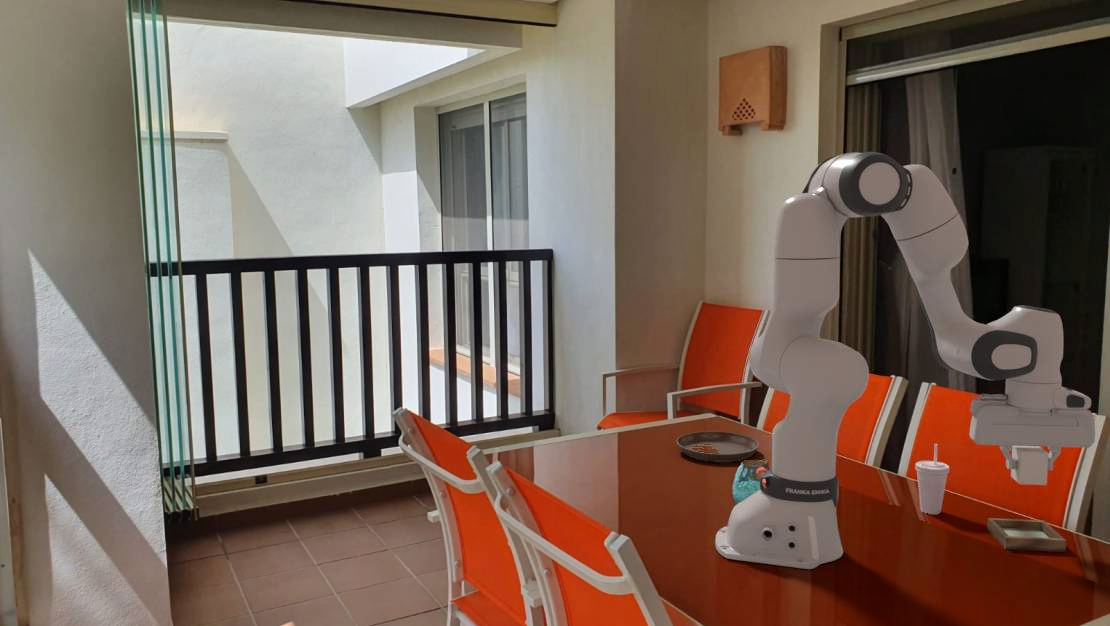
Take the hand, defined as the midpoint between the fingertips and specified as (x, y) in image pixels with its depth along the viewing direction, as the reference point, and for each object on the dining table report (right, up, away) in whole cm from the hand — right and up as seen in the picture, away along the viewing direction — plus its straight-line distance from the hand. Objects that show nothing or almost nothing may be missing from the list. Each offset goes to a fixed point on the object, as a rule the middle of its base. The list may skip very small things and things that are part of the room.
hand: (1029, 469), depth 156 cm
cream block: (0, -2, 0) cm, 2 cm away
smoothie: (-10, -12, +17) cm, 24 cm away
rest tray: (0, -14, +1) cm, 14 cm away
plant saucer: (-45, -8, +62) cm, 77 cm away
